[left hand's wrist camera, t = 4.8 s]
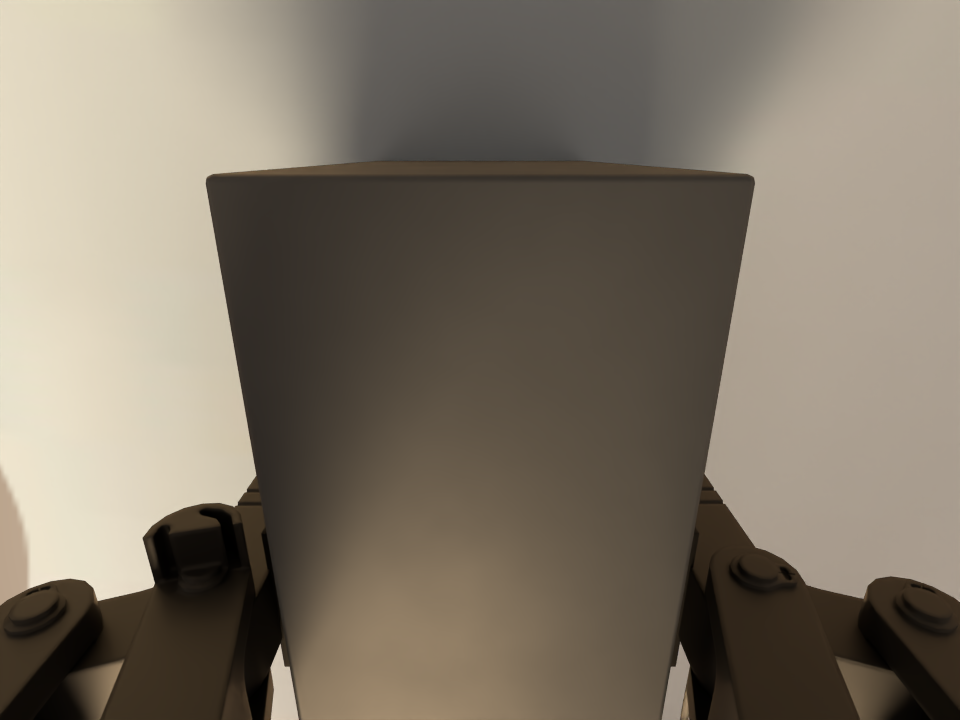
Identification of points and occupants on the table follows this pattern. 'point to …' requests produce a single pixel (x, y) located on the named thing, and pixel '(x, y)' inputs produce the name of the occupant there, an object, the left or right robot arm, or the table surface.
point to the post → (480, 423)
